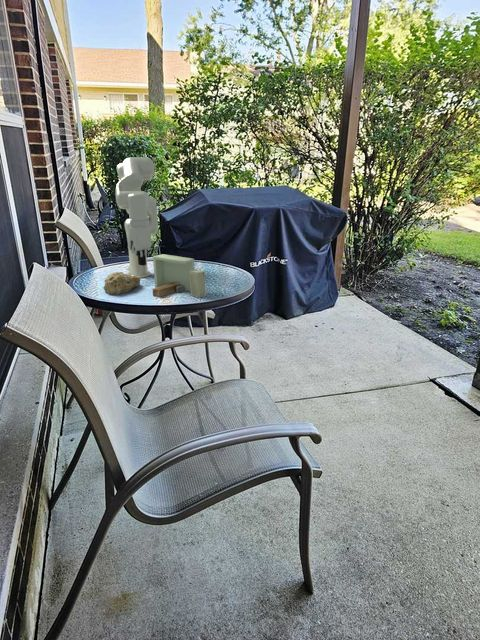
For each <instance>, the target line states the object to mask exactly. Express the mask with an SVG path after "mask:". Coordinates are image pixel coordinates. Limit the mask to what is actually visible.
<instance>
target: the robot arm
mask: <svg viewBox="0 0 480 640" xmlns="http://www.w3.org/2000/svg"><path fill="white" fill-rule="evenodd" d="M116 172H117V175H118V178H119V181H118V182H117V184H116V187H115V190H114V191H115V202H116V206H117V207H118V208H119V209H121V210H125V211H126V213H127V214H128V215H129V218H126V220H125V221H124V230H125V234H126V241H127V249H128V258H129V259H128V260H129V265H128V266H127V267H126V269H125V270H127V271H128V273H127V275H131V276H136V277H140V279H142V278H146V277H147V278H148V277H150V276H151V275H152V273H151V271H149V269H148V268H149V267H148V257H147V256H148V255H147V254H148V252H149V251H150V250H151V248H152V236H154V235H157V234H158V231H159V224H158V223H159V221H158V210H157V208H158V207H157V203H156V199H155V198H154V197H153V196H150V194H149V193H148V192H146V191H143V190H142V188H141V187H142V186H143V185H144V181H151V180H152V179H153V177H154V175H155V164H154V162H153V159H152V158H150V157H145V156H143V157H142V156H141V157H140V156H137V157H133V156H130V157H126V158H125V159H124V160H123V162H120V163H119V164H117V165H116Z"/></svg>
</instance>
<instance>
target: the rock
mask: <svg viewBox="0 0 480 640" xmlns="http://www.w3.org/2000/svg"><path fill="white" fill-rule="evenodd" d="M140 285H141V278H140V277H136V276H131V275H128V273H127V274H126V273H124V272H122V271H120V272H118V271H117V272H112V273H110V274H108V275H106V277H105V278H104V286H103V290H104V292H105V293H107V294H108V295H120V294H124V293H125V294H126V293H128V292H130V291H131V290H133V289H134V288H135V287H138V286H140Z"/></svg>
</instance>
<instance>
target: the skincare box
mask: <svg viewBox="0 0 480 640" xmlns="http://www.w3.org/2000/svg"><path fill="white" fill-rule="evenodd" d="M190 286H191V291H190V296H192V297H195V298H199V299H200V298H204V297H206V296H207V292H206V274H205V270H201V269H200V270H199V269H194V270H192V271H190Z"/></svg>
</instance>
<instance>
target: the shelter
mask: <svg viewBox="0 0 480 640" xmlns="http://www.w3.org/2000/svg"><path fill="white" fill-rule="evenodd" d="M152 260H153V261H152V262H153V276H154V288H157V287H160V286H163V285H166V284H169V283H171V282H177V283H180V286H177V287H176V290H177V291H176V293H177V294H178V293H180V292H183V291H187V292H191V286H190V271H192V270H195V258H191V257H185V256H184V257H183V256H178V255H173V254H172V255H170V254H163V253H162V254H158V255H153V256H152Z"/></svg>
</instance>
